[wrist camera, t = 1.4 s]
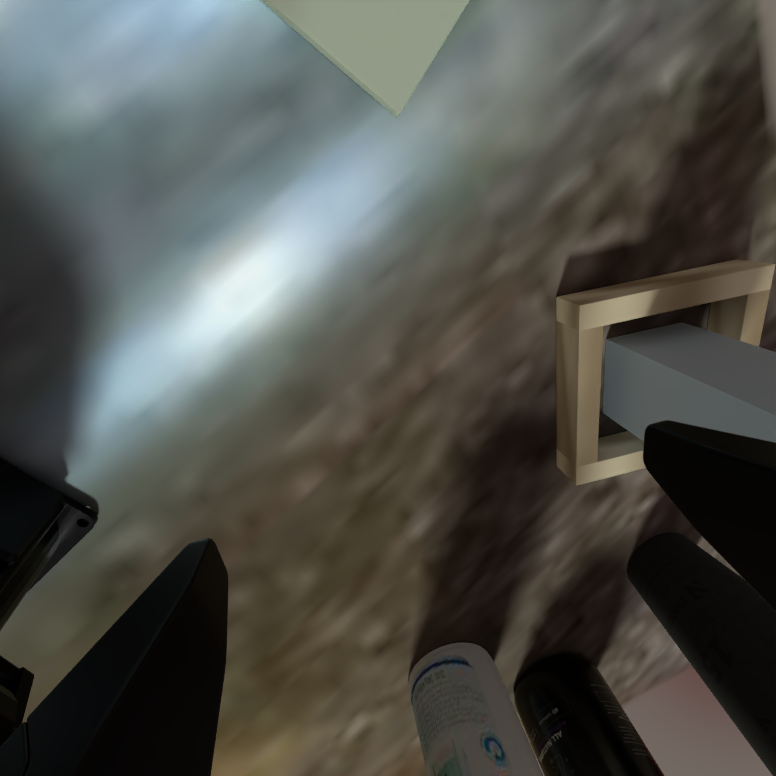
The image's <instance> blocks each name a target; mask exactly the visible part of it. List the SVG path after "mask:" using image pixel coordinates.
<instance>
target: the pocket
mask: <svg viewBox="0 0 776 776" xmlns="http://www.w3.org/2000/svg"><path fill="white" fill-rule="evenodd" d="M774 268H775V264H770V263H762V262H755V261H747V260H740V259H736V260H731V261H726V262H722V263H717V264H712V265H707V266H702V267H698V268H693V269H688V270H683V271H678V272H674V273H669V274H664V275H659V276H654V277H650V278H645V279H640V280H635V281H630V282H626V283H621V284H616V285H611V286H606V287H602V288H597V289H592V290H587V291H582V292H578V293H573V294H568V295H563V296H558V297H556V423H557V467H558V468H559V469H560V470H561V471H562V472H563V473H564V474H565V475H566V476H567V477H568V478H569V479H570V480H571V481H572V482H573V483H574V484H575V485H576V486H577V485H581V484H585V483H589V482H593V481H597V480H600V479H604V478H608V477H612V476H616V475H620V474H624V473H628V472H631V471H635V470H639V469H643V468H646V467H645V465H644V462H643V447H644V441H642V440H641V439H639V438H638V437H636V436H635V435H634V434H632V433H631V432H629V431H625V432H621V433H617V434H613V435H609V436H605V437H601V438H598V432H599V409H600V386H601V363H602V340H603V326H605V325H609V324H614V323H618V322H623V321H628V320H632V319H637V318H641V317H646V316H650V315H655V314H660V313H664V312H669V311H673V310H678V309H682V308H687V307H692V306H696V305H701V304H705V303H710V302H711V307H710V314H709V321H708V328H707V330H708V331H711V332H714V333H717V334H720V335H724V336H727V337H730V338H733V339H736V340H739V341H742V342H746V343H749V344H752V345H755V346H758V347H759V344H760V339H761V334H762V329H763V324H764V319H765V314H766V308H767V303H768V298H769V293H770V288H771V283H772V278H773V273H774Z"/></svg>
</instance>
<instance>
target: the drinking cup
mask: <svg viewBox="0 0 776 776" xmlns="http://www.w3.org/2000/svg"><path fill="white" fill-rule="evenodd" d="M627 573H628V578H629V580H630V581H631V583H632V584H633V586H634V587H635V588H636V590H637V591H638V592H639V594H640V595H641V597H642V598H643V599H644V601H645V602H646V603H647V605H648V606H649V607H650V609H651V610H652V612H653V613H654V614H655V616H656V617H657V618H658V620H659V621H660V622H661V624H662V625H663V627H664V628H665V629H666V631H667V632H668V633H669V635H670V636H671V637H672V639H673V640H674V642H675V643H676V644H677V646H678V647H679V648H680V650H681V651H682V652H683V654H684V655H685V657H686V658H687V659H688V661H689V662H690V663H691V665H692V666H693V667H694V669H695V670H696V672H697V673H698V674H699V676H700V677H701V678H702V680H703V681H704V682H705V684H706V685H707V687H708V688H709V689H710V691H711V692H712V693H713V695H714V696H715V697H716V699H717V700H718V702H719V703H720V704H721V705H722V707H723V708H724V710H725V711H726V712H727V714H728V715H729V717H730V718H731V719H732V720H733V722H734V723H735V724H736V726H737V727H738V729H739V730H740V731H741V733H742V734H743V735H744V737H745V738H746V740H747V741H748V742H749V744H750V745H751V747H752V748H753V749H754V750H755V752H756V753H757V755H758V756H759V757H760V759H761V760H762V761H763V763H764V764H765V766H766V767H767V768H768V770H769V771H770V772H771V774H772V775H773V776H776V611H775V610H774V609H773V608H772V607H771V606H770V605H769V604H768V603H767V602H766V601H765V600H764V599H763V598H762V597H761V596H760V595H759V594H758V593H757V592H756V591H755V590H754V589H753V588H752V587H751V586H750V585H749V584H748V582H747V581H745V580H744V579H743V578H741V577H740V576H739V575H737V574H736V573H734V572H733V571H732V570H730V569H729V568H728V567H726V566H725V565H723V564H722V563H721V562H719V561H718V560H717V559H715V558H714V557H712V556H711V555H710V554H708V553H707V552H705V551H704V550H703V549H701V548H700V547H699V546H697V545H696V544H694V543H693V542H692V541H690V540H689V539H688V538H686V537H685V536H683V535H681V534H677V533H667V534H662V535H659V536H656V537H654V538H652V539H650V540H649V541H647V542H646V543H644V544H643V545H642V546H641V547H640V548H639V549H638V550H637V551H636V552H635V553H634V555H633V556H632V558H631V560H630V562H629V565H628V570H627Z"/></svg>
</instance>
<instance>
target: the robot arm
mask: <svg viewBox="0 0 776 776" xmlns="http://www.w3.org/2000/svg"><path fill="white" fill-rule="evenodd" d="M643 462H644V465H645V467H646V469H647V470H648V471H649V473H650V474H651V475H652V476H653V478H654V479H655V480H656V481H657V483H658V484H659V485H660V486H661V487H662V489H663V490H664V491H665V492H666V494H667V495H668V496H669V497H670V499H671V500H672V501H673V502H674V504H675V505H676V506H677V507H678V509H679V510H680V511H681V512H682V513H683V515H684V516H685V517H686V518H687V520H688V521H689V522H690V523H691V524H692V525H693V527H694V528H695V529H696V530H697V531H698V532H699V533H700V534H701V535H702V536H703V537H704V538H705V539H706V540H707V541H708V542H709V544H710V545H711V546H712V547H713V548H714V549H715V550H716V551H717V552H718V553H719V554H720V555H721V556H722V557H723V558H724V559H725V560H726V561H727V562H728V563H729V564H730V565H731V566H732V567H733V568H734V569H735V570H736V571H737V572H738V573H739V574H740V575H741V576H742V577H743V578H744V579H745V580H746V581H747V582H748V584H749V585H750V586H751V587H752V588H753V589H754V590H755V591H756V592H757V593H758V594H759V595H760V596H761V597H762V598H763V599H764V600H765V601H766V602H767V603H768V604H769V605H770V606H771V607H772V608H773V609H774V610H775V611H776V443H775V442H771V441H766V440H761V439H756V438H751V437H747V436H742V435H737V434H732V433H728V432H723V431H718V430H713V429H708V428H704V427H699V426H694V425H689V424H684V423H680V422H675V421H670V420H664V421H660V422H656V423H652V424H649V425H648V426H647V427H646V429H645V434H644V447H643ZM81 519H86V520H87V521H88V522H84V521H82V520H81ZM97 520H98V516H97V515H96V513H95V512H93V511H92V510H90V509H88V508H87V507H85V506H83V505H81V504H80V503H78V502H76V501H74V500H73V499H71V498H69V497H67V496H66V495H64V494H62V493H60V492H59V491H57V490H55V489H53V488H52V487H50V486H48V485H46V484H45V483H43V482H41V481H39V480H38V479H36V478H34V477H32V476H31V475H29V474H27V473H25V472H24V471H22V470H20V469H18V468H17V467H15V466H13V465H11V464H10V463H8V462H6V461H4V460H3V459H1V458H0V631H1V629H2V628H3V626H4V625H5V623H6V622H7V620H8V619H9V618H10V616H11V615H12V613H13V612H14V610H15V609H16V607H17V606H18V604H19V603H20V602H21V600H22V599H23V597H24V596H25V594H26V593H27V592H28V591H29V590H30V589H31V588H32V587H33V586H34V585H35V584H36V583H37V582H38V581H39V580H40V579H41V578H42V577H43V576H44V575H45V574H46V573H47V572H48V571H49V570H50V569H51V568H52V567H53V566H54V565H56V564H57V563H58V562H59V561H60V560H61V559H62V558H63V557H64V556H65V555H66V554H67V553H68V552H69V551H70V550H71V549H72V548H73V547H74V546H75V545H76V544H77V543H78V542H79V541H80V540H81V539H82V538H83V537H84V536H85V535H86V534H87V533H88V532H89V531H90V530H91V529H92V528H93V527H94V525H95V523H96V522H97ZM227 615H228V574H227V570H226V567H225V565H224V562H223V560H222V558H221V555H220V553H219V551H218V548H217V546H216V544H215V542H214V541H213V540H212V539H210V538H206V539H202V540H198V541H195V542H191V543H189V544H188V545H187V546H186V547H185V548H184V549H183V550H182V551H181V552H180V553H179V554H178V555H177V556H176V557H175V558H174V560H173V561H172V562H171V563H170V564H169V565H168V566H167V567H166V568H165V569H164V570H163V571H162V572H161V574H160V575H159V576H158V577H157V578H156V579H155V580H154V581H153V582H152V583H151V584H150V585H149V587H148V588H147V589H146V590H145V591H144V592H143V593H142V594H141V595H140V596H139V597H138V598H137V600H136V601H135V602H134V603H133V604H132V605H131V606H130V607H129V608H128V609H127V610H126V611H125V613H124V614H123V615H122V616H121V617H120V618H119V619H118V620H117V621H116V622H115V623H114V624H113V626H112V627H111V628H110V629H109V630H108V631H107V632H106V633H105V634H104V635H103V636H102V637H101V638H100V640H99V641H98V642H97V643H96V644H95V645H94V646H93V647H92V648H91V649H90V650H89V651H88V653H87V654H86V655H85V656H84V657H83V658H82V659H81V660H80V661H79V662H78V663H77V664H76V666H75V667H74V668H73V669H72V670H71V671H70V672H69V673H68V674H67V675H66V676H65V677H64V678H63V680H62V681H61V682H60V683H59V684H58V685H57V686H56V687H55V688H54V689H53V690H52V691H51V693H50V694H49V695H48V696H47V697H46V698H45V699H44V700H43V701H42V702H41V703H40V704H39V705H38V707H37V708H36V709H35V710H34V711H33V712H32V713H31V714H30V715H29V716H28V718H27V722H24V723H22V721H23V717H24V713H25V709H26V705H27V702H28V698H29V694H30V690H31V686H32V683H33V679H34V674H32V673H31V672H30V671H28V670H27V669H25V668H24V667H22V668H18V667H17V666H15V665H14V664H12V663H11V662H9V661H8V660H6V659H5V658H3V657H2V656H0V776H211V769H212V761H213V754H214V747H215V740H216V732H217V725H218V718H219V711H220V703H221V696H222V689H223V682H224V674H225V665H226V651H227Z"/></svg>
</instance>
